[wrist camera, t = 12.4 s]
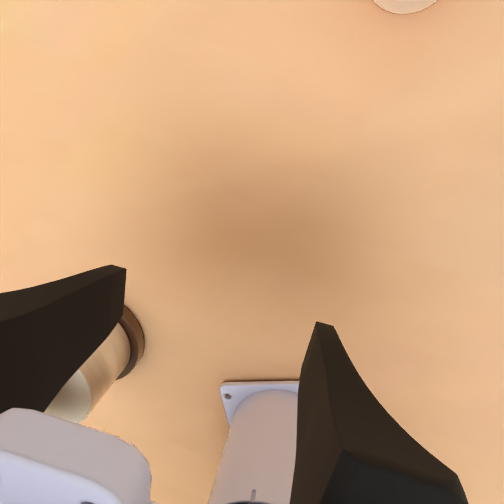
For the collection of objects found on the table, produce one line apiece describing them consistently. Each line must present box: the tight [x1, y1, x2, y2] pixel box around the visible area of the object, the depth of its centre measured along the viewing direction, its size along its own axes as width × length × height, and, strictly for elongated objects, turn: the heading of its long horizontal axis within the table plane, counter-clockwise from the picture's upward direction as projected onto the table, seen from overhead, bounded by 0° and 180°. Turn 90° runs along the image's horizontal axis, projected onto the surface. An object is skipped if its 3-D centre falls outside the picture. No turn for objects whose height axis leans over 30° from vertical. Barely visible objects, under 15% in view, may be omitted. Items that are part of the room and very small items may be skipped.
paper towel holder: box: [44, 306, 144, 424], centre depth 23 cm, size 7×7×13 cm
